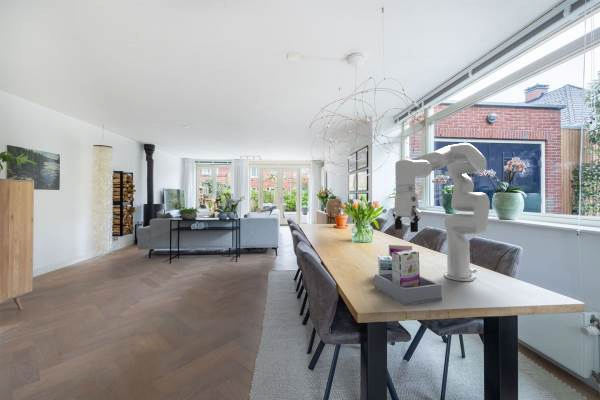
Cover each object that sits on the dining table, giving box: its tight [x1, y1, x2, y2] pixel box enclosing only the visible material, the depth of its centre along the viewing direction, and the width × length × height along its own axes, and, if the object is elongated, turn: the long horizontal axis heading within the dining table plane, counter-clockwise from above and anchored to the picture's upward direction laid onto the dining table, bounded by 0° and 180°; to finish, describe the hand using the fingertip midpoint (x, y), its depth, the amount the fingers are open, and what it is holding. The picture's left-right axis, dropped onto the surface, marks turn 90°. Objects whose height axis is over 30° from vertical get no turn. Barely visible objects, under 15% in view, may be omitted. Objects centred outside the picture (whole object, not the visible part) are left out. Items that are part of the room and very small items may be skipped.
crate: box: [374, 273, 443, 306], centre depth 107 cm, size 17×20×6 cm
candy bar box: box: [392, 249, 421, 288], centre depth 107 cm, size 11×5×16 cm, turn 115°
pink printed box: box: [388, 244, 413, 256], centre depth 133 cm, size 11×7×15 cm, turn 33°
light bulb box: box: [377, 254, 392, 274], centre depth 126 cm, size 11×7×11 cm, turn 168°
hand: (405, 230), depth 107 cm, fingers open, 9 cm apart
